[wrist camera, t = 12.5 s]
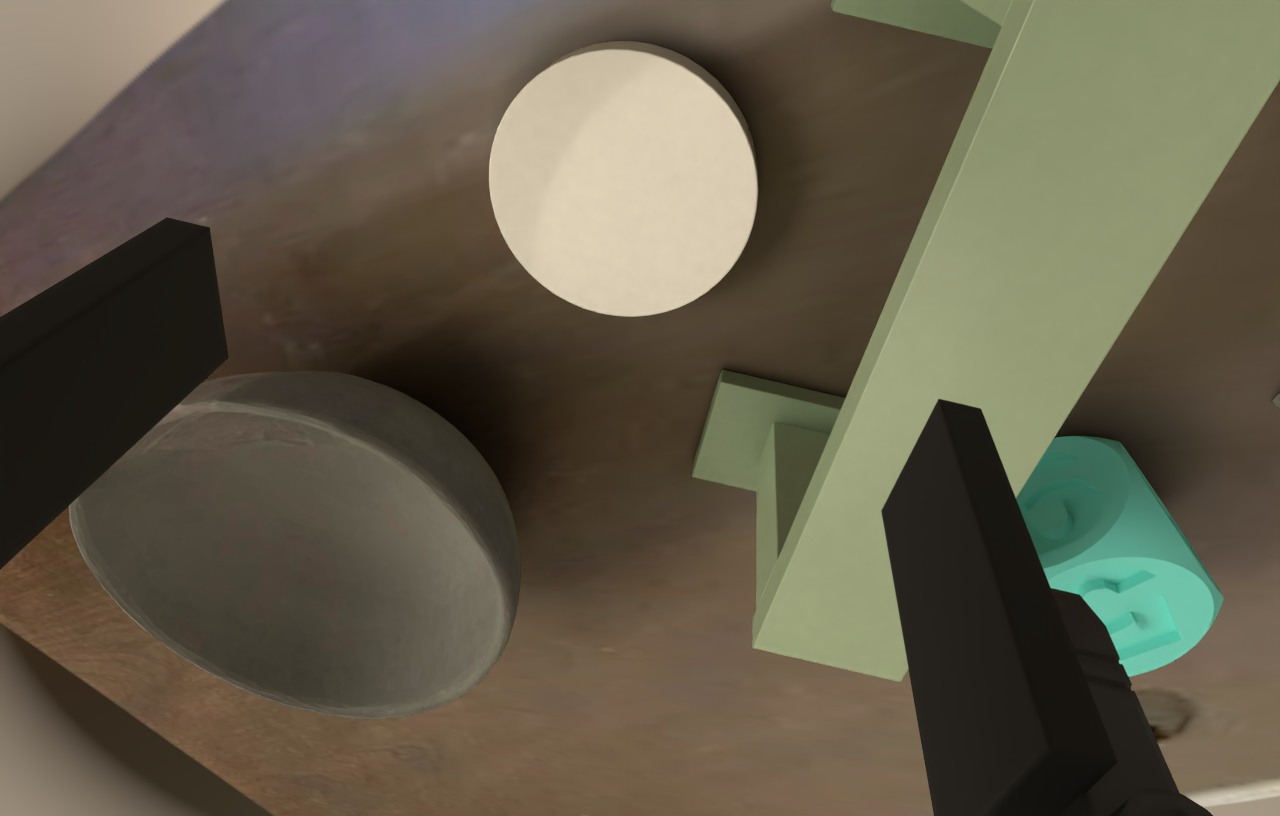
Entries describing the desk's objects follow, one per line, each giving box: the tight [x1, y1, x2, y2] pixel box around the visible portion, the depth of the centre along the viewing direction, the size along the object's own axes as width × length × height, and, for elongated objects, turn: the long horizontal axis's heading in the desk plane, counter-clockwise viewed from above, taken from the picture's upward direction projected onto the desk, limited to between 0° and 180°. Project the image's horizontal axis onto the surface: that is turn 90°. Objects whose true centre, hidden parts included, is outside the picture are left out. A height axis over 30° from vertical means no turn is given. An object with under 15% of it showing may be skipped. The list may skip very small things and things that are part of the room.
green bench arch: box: [692, 0, 1280, 682], centre depth 28 cm, size 28×12×12 cm, turn 169°
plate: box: [489, 41, 758, 317], centre depth 33 cm, size 11×11×2 cm
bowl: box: [69, 371, 521, 719], centre depth 40 cm, size 20×20×10 cm
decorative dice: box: [1016, 436, 1224, 677], centre depth 36 cm, size 8×8×8 cm
